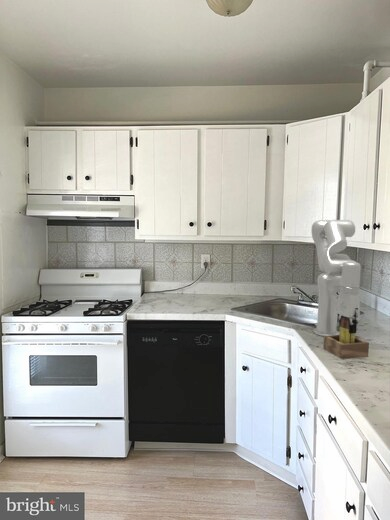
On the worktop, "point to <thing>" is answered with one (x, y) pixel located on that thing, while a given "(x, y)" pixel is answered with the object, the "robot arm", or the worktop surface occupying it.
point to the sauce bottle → (346, 331)
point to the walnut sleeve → (346, 347)
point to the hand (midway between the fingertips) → (347, 330)
